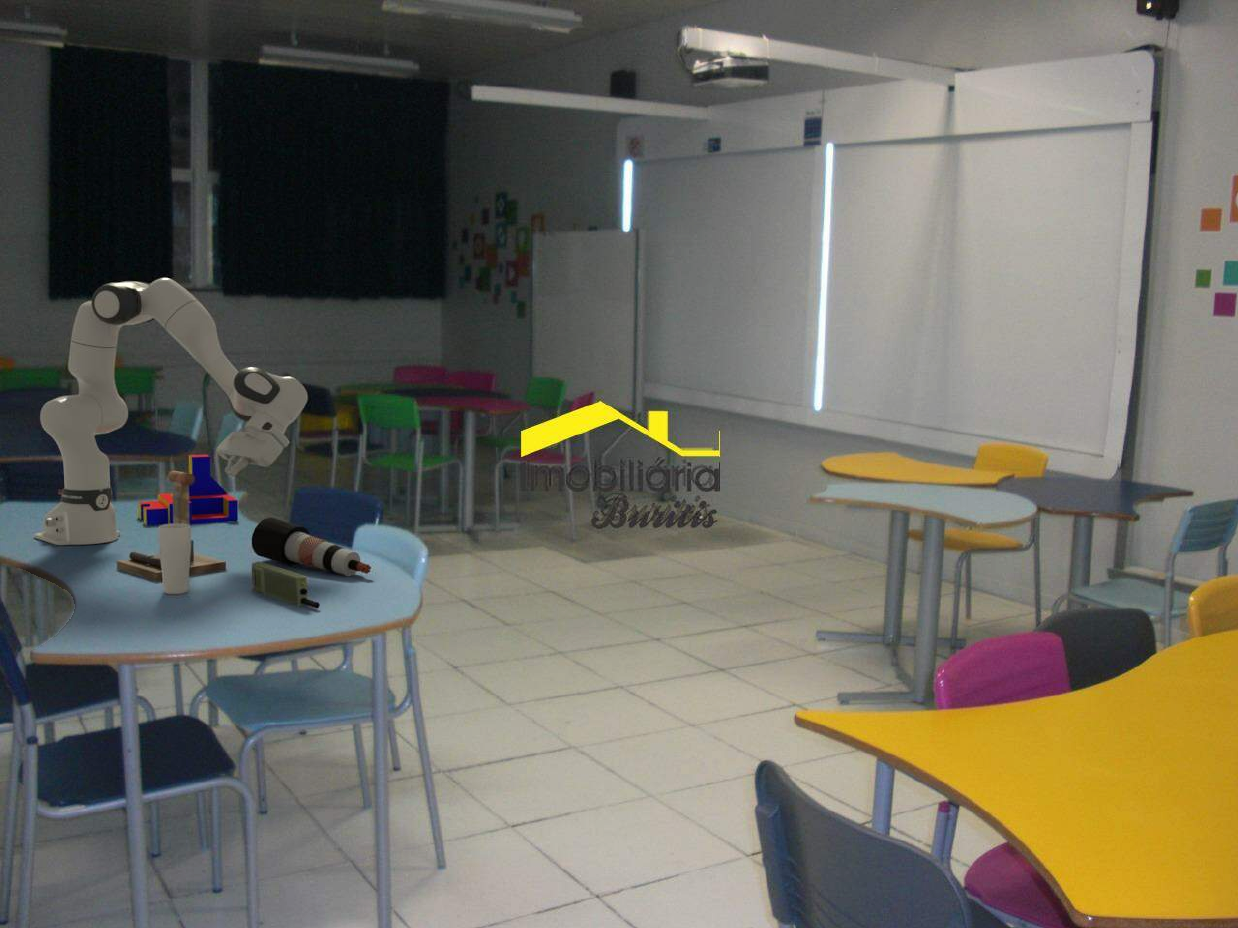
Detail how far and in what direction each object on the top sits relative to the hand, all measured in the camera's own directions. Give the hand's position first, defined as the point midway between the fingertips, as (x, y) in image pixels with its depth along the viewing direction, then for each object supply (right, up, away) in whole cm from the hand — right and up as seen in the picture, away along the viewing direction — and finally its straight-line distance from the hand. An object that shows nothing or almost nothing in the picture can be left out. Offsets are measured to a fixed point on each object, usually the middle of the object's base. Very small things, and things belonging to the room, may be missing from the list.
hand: (229, 473), depth 300 cm
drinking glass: (-2, -26, -32) cm, 41 cm away
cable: (+23, -24, -5) cm, 33 cm away
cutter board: (-11, -23, -9) cm, 27 cm away
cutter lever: (-9, -20, -8) cm, 23 cm away
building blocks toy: (-31, -14, +57) cm, 66 cm away
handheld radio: (+24, -28, -35) cm, 51 cm away
